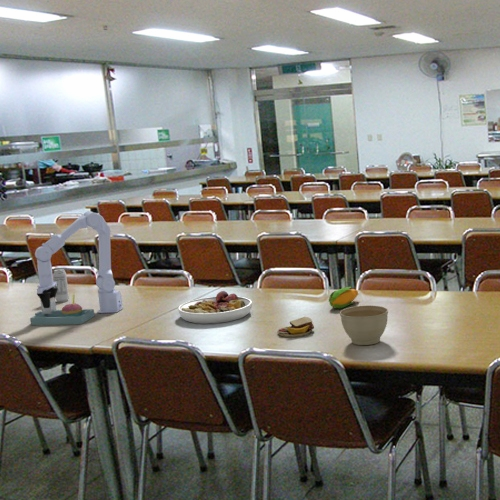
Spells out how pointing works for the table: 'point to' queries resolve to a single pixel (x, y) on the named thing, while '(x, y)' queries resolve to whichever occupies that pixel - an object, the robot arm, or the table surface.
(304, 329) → the toy sandwich meal
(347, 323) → the planter bowl
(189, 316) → the bowl
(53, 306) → the tin
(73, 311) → the donut with candle
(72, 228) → the robot arm
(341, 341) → the table surface
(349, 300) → the corn
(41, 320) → the tray
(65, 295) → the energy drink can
